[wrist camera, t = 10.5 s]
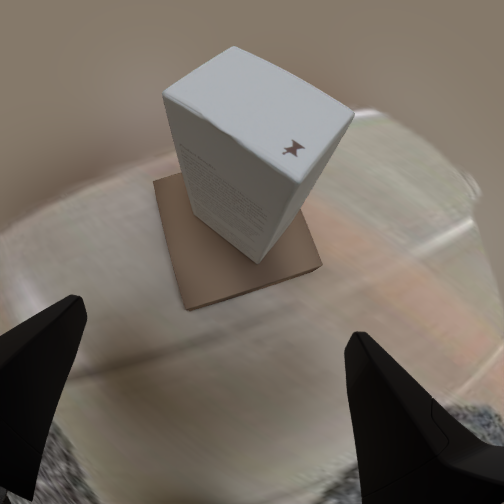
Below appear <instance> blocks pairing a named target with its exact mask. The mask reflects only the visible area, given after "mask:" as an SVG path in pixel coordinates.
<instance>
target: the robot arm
mask: <svg viewBox="0 0 504 504" xmlns="http://www.w3.org/2000/svg"><path fill="white" fill-rule="evenodd" d="M86 322H87V312H86V309H85V305H84V302H83V299H82V297H80V296H77V295H69V296H67V297H65V298H64V299H62V300H60V301H58V302H57V303H55V304H53V305H51V306H50V307H48V308H46V309H44V310H43V311H41V312H39V313H38V314H36V315H34V316H33V317H31V318H29V319H27V320H26V321H24V322H22V323H21V324H19V325H17V326H16V327H14V328H13V329H11V330H9V331H8V332H6V333H4V334H3V335H1V336H0V504H11V502H10V500H9V498H8V496H7V491H10V492H12V493H14V494H16V495H18V496H20V497H22V498H24V499H26V500H28V501H31V502H32V500H33V496H34V491H35V486H36V481H37V476H38V472H39V467H40V463H41V459H42V454H43V451H44V447H45V443H46V440H47V436H48V433H49V429H50V426H51V423H52V420H53V417H54V414H55V411H56V408H57V405H58V402H59V399H60V396H61V393H62V391H63V388H64V385H65V383H66V380H67V377H68V375H69V372H70V370H71V367H72V365H73V362H74V360H75V357H76V354H77V351H78V347H79V344H80V341H81V338H82V335H83V331H84V328H85V325H86ZM344 358H345V371H346V386H347V396H348V402H349V408H350V414H351V420H352V426H353V433H354V439H355V446H356V454H357V461H358V469H359V478H360V487H361V497H362V504H504V446H494V445H489V444H487V443H485V442H483V441H481V440H480V439H479V438H477V437H476V436H475V435H474V434H473V433H471V432H470V431H469V430H468V429H467V428H465V427H464V426H463V425H462V424H461V423H460V422H458V421H457V420H456V419H455V418H454V417H453V416H452V415H450V414H449V413H448V412H447V411H446V410H445V409H444V408H443V407H442V406H441V405H440V404H439V403H438V402H437V401H436V400H435V399H434V398H432V396H431V395H430V394H429V393H428V392H427V391H426V390H425V389H424V388H423V387H422V386H421V385H420V384H419V383H418V382H417V381H416V380H415V379H414V378H413V377H412V376H411V375H410V374H409V373H408V372H407V371H406V370H405V369H404V368H403V367H402V366H400V365H399V364H398V363H397V362H396V361H395V360H394V359H393V358H392V357H391V356H390V355H389V354H388V353H387V352H386V351H385V350H384V349H383V348H382V347H381V346H380V345H379V344H378V343H377V342H376V341H375V340H374V339H373V338H372V337H371V336H370V335H369V334H367V333H366V332H358V331H356V332H354V333H353V334H352V336H351V338H350V340H349V342H348V343H347V345H346V347H345V351H344Z"/></svg>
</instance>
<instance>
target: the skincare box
mask: <svg viewBox="0 0 504 504" xmlns="http://www.w3.org/2000/svg"><path fill="white" fill-rule="evenodd" d="M162 96H163V100H164V105H165V109H166V113H167V117H168V121H169V125H170V129H171V133H172V137H173V141H174V145H175V149H176V152H177V156H178V160H179V164H180V168H181V172H182V175H183V179H184V182H185V186H186V189H187V193H188V197H189V200H190V204H191V207H192V211H193V214H194V215H195V216H197V217H198V218H199V219H200V220H202V221H203V222H204V223H205V224H207V225H208V226H209V227H210V228H212V229H213V230H214V231H215V232H217V233H218V234H219V235H220V236H222V237H223V238H224V239H226V240H227V241H228V242H229V243H231V244H232V245H233V246H234V247H236V248H237V249H238V250H240V251H241V252H242V253H243V254H245V255H246V256H247V257H248V258H250V259H251V260H252V261H253V262H255V263H256V264H259V263H260V262H261V260H262V259H263V258H264V257H265V255H266V254H267V253H268V252H269V250H270V249H271V248H272V247H273V246H274V244H275V243H276V242H277V241H278V239H279V238H280V237H281V235H282V234H283V233H284V231H285V230H286V229H287V227H288V226H289V225H290V224H291V222H292V221H293V219H294V218H295V216H296V214H297V213H298V211H299V210H300V208H301V206H302V205H303V203H304V201H305V199H306V198H307V196H308V195H309V193H310V191H311V189H312V188H313V186H314V185H315V183H316V181H317V179H318V178H319V176H320V174H321V173H322V171H323V169H324V168H325V166H326V164H327V163H328V161H329V159H330V158H331V156H332V154H333V152H334V151H335V149H336V147H337V146H338V144H339V142H340V140H341V138H342V137H343V135H344V134H345V132H346V130H347V129H348V127H349V125H350V123H351V122H352V120H353V118H354V115H355V113H354V112H353V111H352V110H351V109H350V108H348V107H347V106H345V105H343V104H342V103H340V102H339V101H337V100H335V99H334V98H332V97H331V96H329V95H327V94H326V93H324V92H322V91H320V90H319V89H317V88H316V87H314V86H312V85H311V84H309V83H307V82H305V81H304V80H302V79H300V78H298V77H297V76H295V75H293V74H291V73H289V72H288V71H286V70H284V69H282V68H280V67H278V66H276V65H274V64H272V63H270V62H268V61H266V60H264V59H262V58H260V57H257V56H255V55H253V54H251V53H249V52H247V51H244V50H242V49H240V48H238V47H236V46H232V47H231V48H229V49H227V50H226V51H224V52H222V53H221V54H219V55H217V56H216V57H214V58H213V59H211V60H209V61H208V62H206V63H204V64H203V65H201V66H200V67H198V68H197V69H195V70H194V71H192V72H191V73H189V74H188V75H186V76H185V77H183V78H182V79H180V80H179V81H177V82H176V83H174V84H173V85H171V86H170V87H168V88H167V89H165V90H164V91H163V92H162Z"/></svg>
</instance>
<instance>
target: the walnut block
mask: <svg viewBox="0 0 504 504" xmlns="http://www.w3.org/2000/svg"><path fill="white" fill-rule="evenodd" d="M153 184H154V189H155V194H156V198H157V203H158V207H159V212H160V216H161V221H162V225H163V229H164V233H165V237H166V241H167V245H168V249H169V253H170V257H171V261H172V264H173V268H174V272H175V275H176V279H177V282H178V286H179V289H180V293H181V296H182V300H183V303H184V306H185V309H186V310H188V311H192V310H196V309H199V308H202V307H206V306H209V305H212V304H215V303H219V302H222V301H225V300H228V299H231V298H235V297H238V296H241V295H244V294H247V293H250V292H253V291H256V290H259V289H262V288H265V287H268V286H271V285H274V284H277V283H280V282H283V281H286V280H289V279H292V278H295V277H298V276H301V275H304V274H307V273H310V272H313V271H314V270H316V269H317V268H319V267H320V266H322V262H321V259H320V257H319V254H318V252H317V249H316V246H315V244H314V241H313V239H312V236H311V234H310V231H309V229H308V226H307V224H306V221H305V219H304V216H303V214H302V211H301V209H300V210H299V211H298V213H297V214H296V216H295V218H294V219H293V221H292V222H291V224H290V225H289V226H288V227H287V229H286V230H285V231H284V233H283V234H282V235H281V237H280V238H279V239H278V241H277V242H276V243H275V244H274V246H273V247H272V248H271V249H270V250H269V252H268V253H267V254H266V255H265V257H264V258H263V259H262V260H261V262H260V263H259V264H256V263H255V262H253V261H252V260H251V259H250V258H248V257H247V256H246V255H245V254H243V253H242V252H241V251H240V250H238V249H237V248H236V247H234V246H233V245H232V244H231V243H229V242H228V241H227V240H226V239H224V238H223V237H222V236H220V235H219V234H218V233H217V232H215V231H214V230H213V229H212V228H210V227H209V226H208V225H207V224H205V223H204V222H203V221H202V220H200V219H199V218H198V217H197V216H195V215H194V214H193V211H192V207H191V204H190V200H189V197H188V193H187V189H186V186H185V182H184V179H183V175H182V173H178V174H175V175H172V176H168V177H165V178H162V179H159V180H155V181H153Z"/></svg>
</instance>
